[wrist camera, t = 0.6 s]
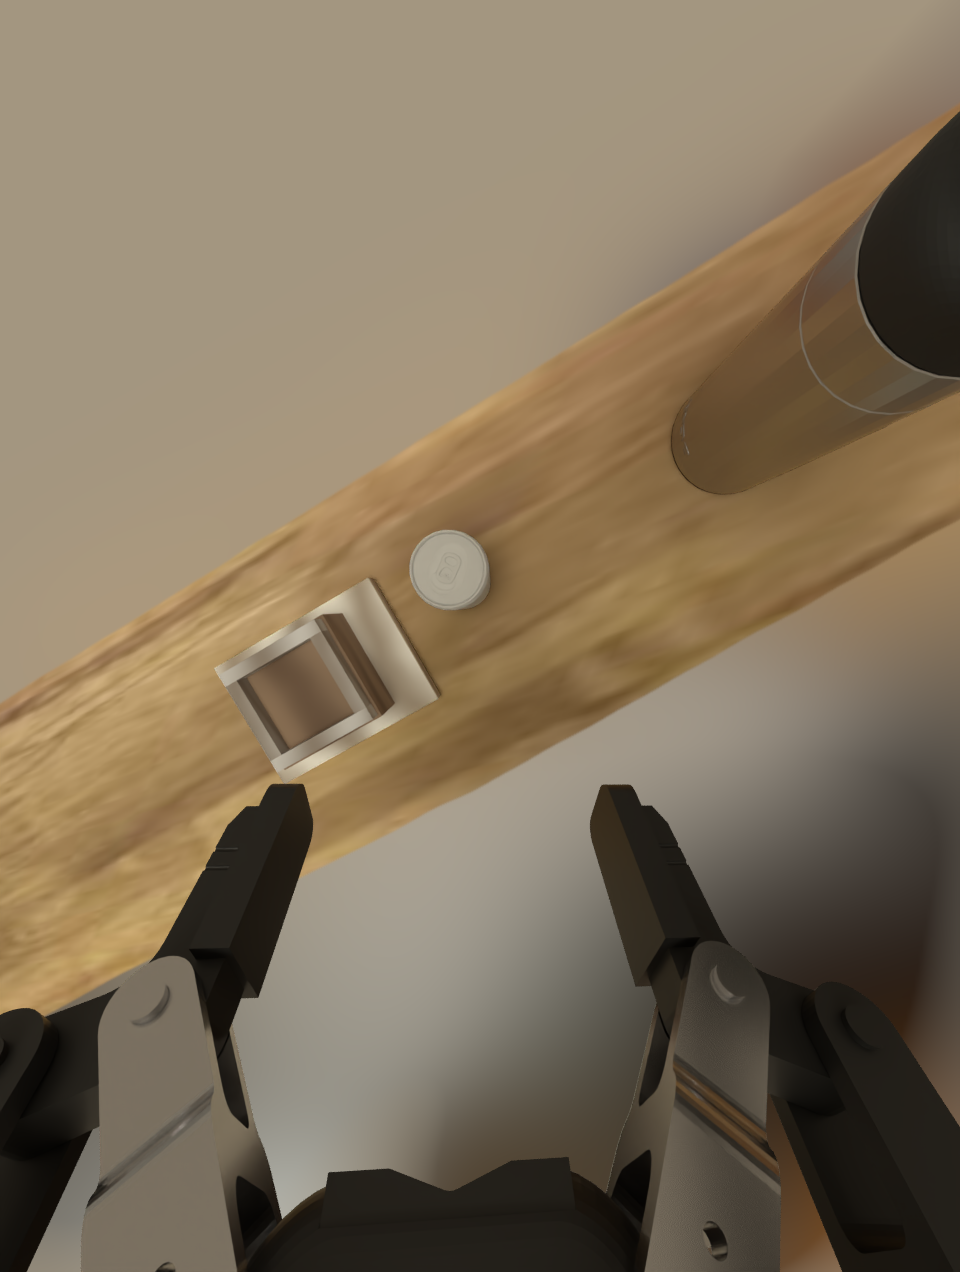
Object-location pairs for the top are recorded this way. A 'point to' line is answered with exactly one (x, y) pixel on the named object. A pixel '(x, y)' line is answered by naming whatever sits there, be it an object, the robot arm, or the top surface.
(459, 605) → the beverage can
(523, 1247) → the robot arm
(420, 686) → the pedestal base
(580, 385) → the top surface
